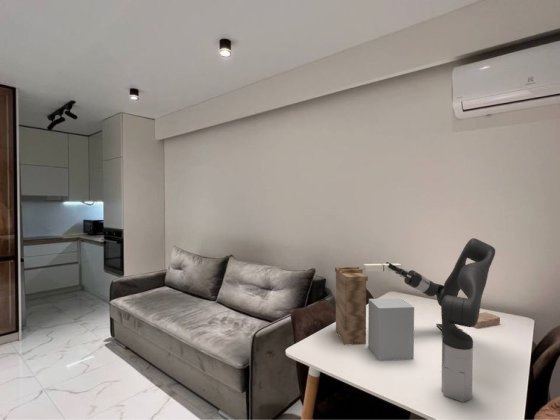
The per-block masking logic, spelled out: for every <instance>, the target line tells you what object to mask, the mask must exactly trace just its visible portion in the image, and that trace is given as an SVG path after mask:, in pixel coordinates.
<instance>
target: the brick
mask: <svg viewBox="0 0 560 420" xmlns="http://www.w3.org/2000/svg"><path fill="white" fill-rule="evenodd" d="M500 321H501V317H500V316H499V315H496V314H493V313H489V312H486V311H485V312H479V318H478V321H477V324H476V325H475V326H474V327H473V328H474V329H483V328H489V327H494V326H498V325H500V323H501V322H500Z"/></svg>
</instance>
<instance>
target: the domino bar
mask: <svg viewBox="0 0 560 420" xmlns="http://www.w3.org/2000/svg"><path fill="white" fill-rule="evenodd" d="M391 264H392V265H394V266H396V267H399V268H400V269H401V268H402V269H403V265H402V264H401V263H391ZM388 266H389V264H386V263H363V265H362V270H363V271H364V272H394V270H392V269H390V268H388Z"/></svg>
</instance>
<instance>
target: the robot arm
mask: <svg viewBox="0 0 560 420" xmlns="http://www.w3.org/2000/svg"><path fill="white" fill-rule="evenodd" d="M495 255H496V248H495V247H494V246H493V245H491V244H489V243H487V242H485V241H482V240H480V239H477V238H475V237H474V238H473V237H472V238H471V239H469V240H468V241H467V243H466V244H465V246H464V248H463V249H462V251H461V253H460V255H459V257H458V259H457V261H456V262H455V265H454V266H453V270H451V273H450V274H449V276H448V277H447V278H446V280H445V281H444V283H443V284H440V283H435V282H433V281H432V280H431V279H428V278H427V277H426V276H424V275H423V274H421V273H419V272H417V271H415V270H413V269H412V270H409V271H408V270H407V269H404V268H403V267H402V268H401V269H400V268H399V267H396V266H394V265H392V264H393V263H390V262H388V261H386V262H385V264H389V266H388V268H390V269H392V270H394V271H393V272H394V273H395V274H396V275H398V276H399V277H401V278H403V281H404V284H406V285H408V286H409V287H411V288H413V289H414V290H416V291H417V292H418V291H419V292H421V293H423V294H425V295H426V296H429V297H435V296H436V300H437V304H438V305H439V306H440V307H441V308H440V311H441V312H440V313H441V338H442V339H441V391H442V392H443V393H442V394H443V396H445V397H448V398H451V399H453V400H456V401H458V402H461V403H465V402H466V401H470V400H472V399H473V371H474V370H473V364H474V363H473V360H474V340H473V337H472V336H471V335H470V334H468V333H467V332H465V331H463V330H462V329H460V328H459V327H458V326H462V327H467V328H474V326H475V325H476V324H477V321H478V318H479V313H480V311H481V305H482V297H483V294H484V290H485V288H486V285H487V280H488V276H489V271H490V268H491V265H492V263H493V260H494V258H495ZM468 259H469V260H470V261H473V262H470V263H467V260H468ZM466 263H467V264H466ZM460 291H462V293H463V294H464V295H465V296H466V298H465V297H461V296H459V292H460Z"/></svg>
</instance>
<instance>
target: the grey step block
mask: <svg viewBox="0 0 560 420" xmlns="http://www.w3.org/2000/svg"><path fill="white" fill-rule="evenodd" d="M367 319H368V323H367V324H368V331H367V332H368V334H367V336H368V337H367V338H368V342H367V343H368V346H367V347H368V348H369V350H370V351H371V353H372V354H373V355H374V357H375V358H376V359H377V360H378V362H380V361H381V362H382V361H399V360H400V361H401V360H402V361H403V360H414V359H415V357H414V355H415V353H414V352H415V347H414V346H415V307H414V305H412V304H411V303H409V302H407V301H406V300H405V299H403V298H402V297H392V298H389V297H386V298H368V318H367Z"/></svg>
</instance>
